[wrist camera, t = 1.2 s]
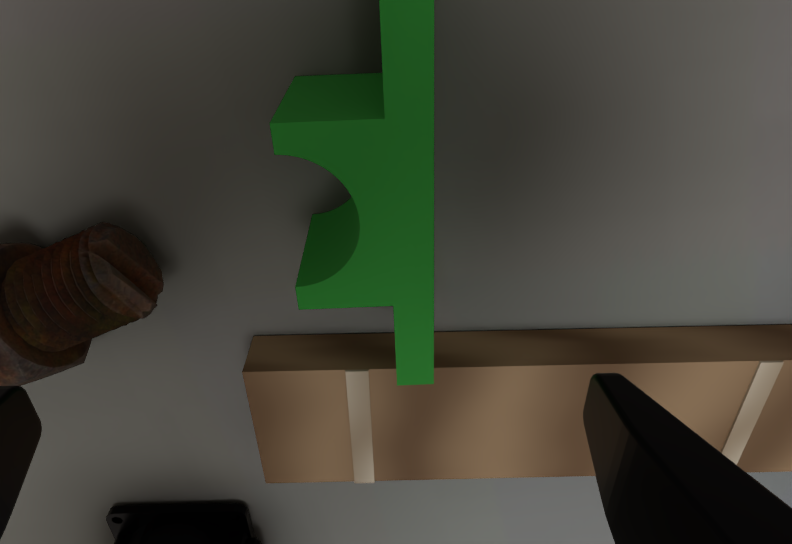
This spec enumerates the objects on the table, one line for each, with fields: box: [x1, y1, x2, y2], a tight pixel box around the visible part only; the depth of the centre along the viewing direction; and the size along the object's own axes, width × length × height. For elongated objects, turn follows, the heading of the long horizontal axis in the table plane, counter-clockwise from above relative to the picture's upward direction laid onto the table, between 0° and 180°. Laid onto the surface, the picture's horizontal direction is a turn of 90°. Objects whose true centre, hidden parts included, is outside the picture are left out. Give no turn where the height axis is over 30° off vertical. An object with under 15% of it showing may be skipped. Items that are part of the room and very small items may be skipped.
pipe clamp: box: [270, 0, 434, 386], centre depth 16 cm, size 11×4×5 cm, turn 2°
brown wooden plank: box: [242, 324, 792, 483], centre depth 22 cm, size 24×6×2 cm, turn 91°
